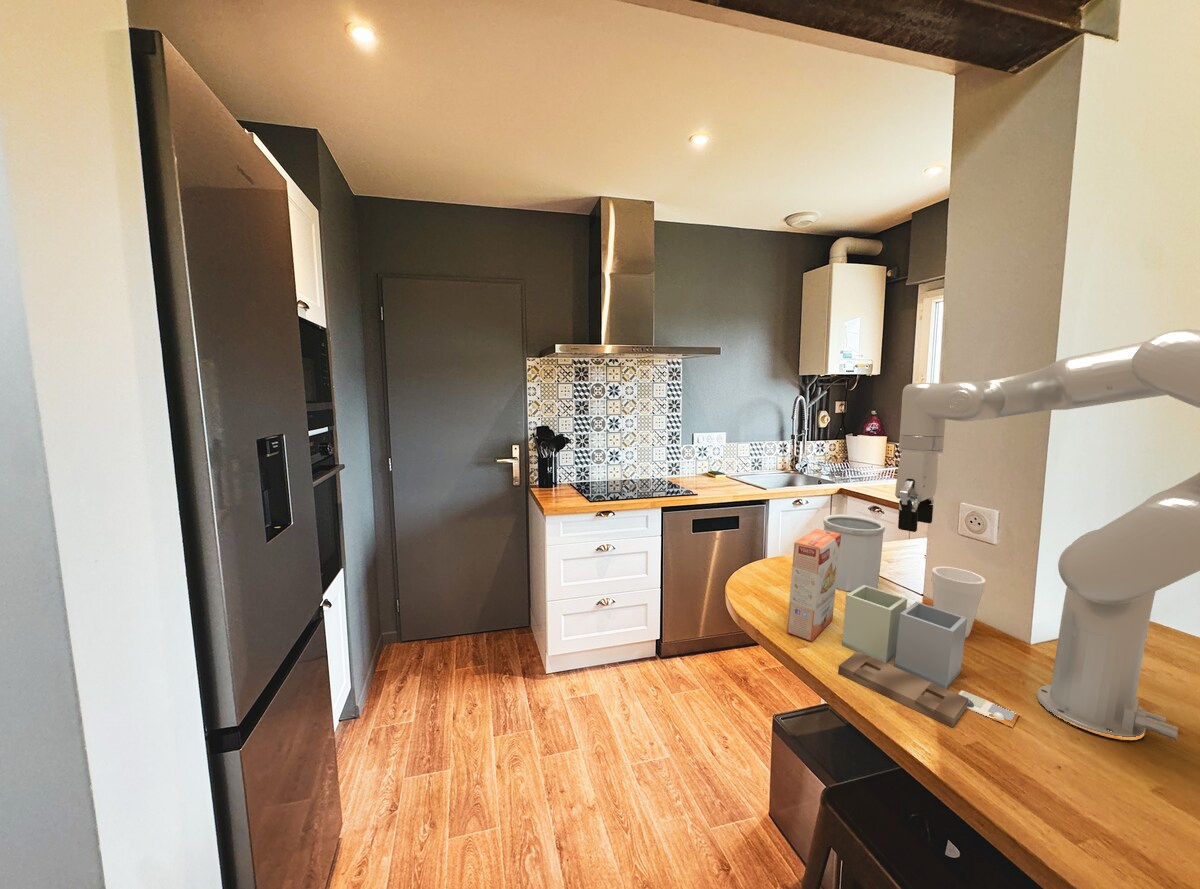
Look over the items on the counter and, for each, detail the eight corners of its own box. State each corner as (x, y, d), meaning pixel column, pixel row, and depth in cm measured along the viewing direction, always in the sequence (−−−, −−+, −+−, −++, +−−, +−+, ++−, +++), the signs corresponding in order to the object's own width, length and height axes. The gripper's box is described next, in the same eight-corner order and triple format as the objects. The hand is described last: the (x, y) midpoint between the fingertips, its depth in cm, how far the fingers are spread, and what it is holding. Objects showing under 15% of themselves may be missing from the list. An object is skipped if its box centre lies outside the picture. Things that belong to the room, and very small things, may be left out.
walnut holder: (967, 707, 81) (968, 698, 81) (952, 727, 76) (953, 718, 76) (856, 658, 95) (857, 651, 94) (838, 673, 90) (838, 665, 89)
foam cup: (989, 639, 103) (996, 581, 101) (954, 643, 101) (962, 585, 99) (948, 618, 112) (954, 565, 110) (916, 621, 110) (922, 568, 108)
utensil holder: (823, 589, 127) (828, 526, 124) (815, 569, 141) (820, 511, 139) (885, 598, 122) (892, 532, 120) (871, 576, 137) (876, 516, 134)
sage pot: (902, 649, 98) (907, 598, 97) (885, 663, 93) (890, 610, 92) (859, 632, 105) (863, 584, 103) (841, 644, 100) (846, 594, 98)
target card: (1019, 717, 79) (1020, 709, 79) (1012, 730, 76) (1013, 722, 76) (961, 692, 85) (962, 685, 85) (952, 704, 82) (953, 696, 82)
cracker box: (814, 643, 100) (821, 547, 97) (785, 633, 104) (792, 540, 101) (835, 620, 110) (842, 532, 107) (808, 611, 114) (814, 527, 112)
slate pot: (960, 672, 91) (967, 617, 89) (946, 689, 85) (953, 631, 84) (910, 652, 97) (916, 601, 96) (894, 667, 92) (900, 613, 90)
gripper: (913, 440, 106) (908, 515, 107) (884, 445, 94) (879, 529, 96) (954, 442, 100) (948, 522, 102) (929, 448, 89) (923, 538, 90)
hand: (915, 526), depth 99 cm, fingers open, 9 cm apart
